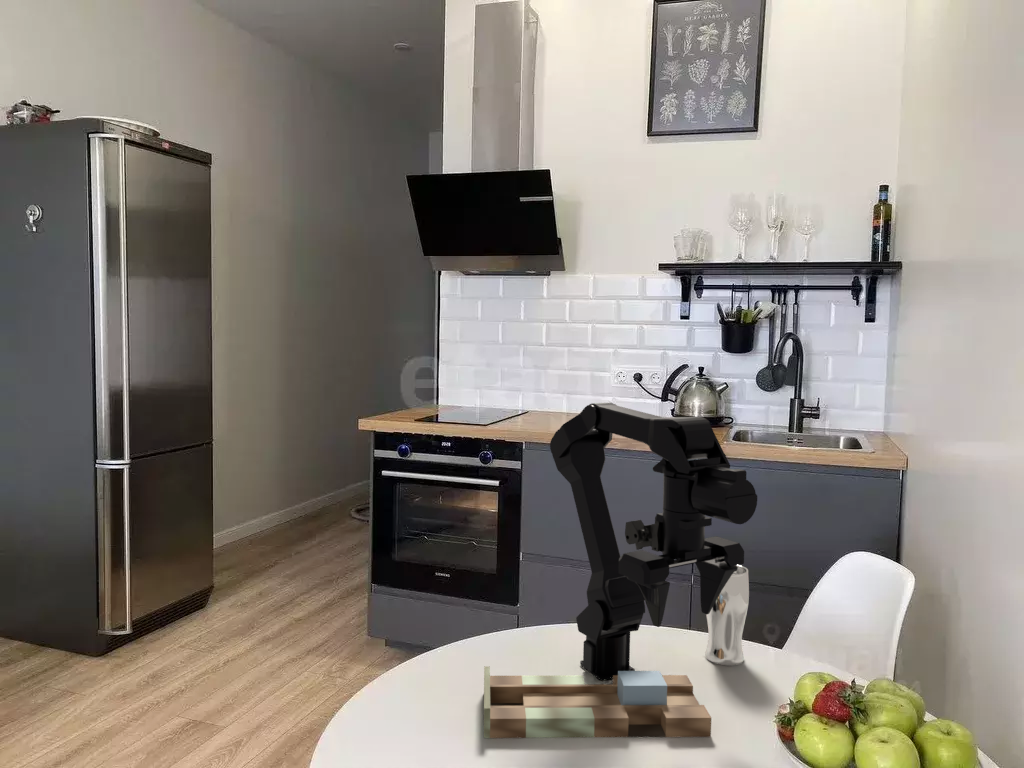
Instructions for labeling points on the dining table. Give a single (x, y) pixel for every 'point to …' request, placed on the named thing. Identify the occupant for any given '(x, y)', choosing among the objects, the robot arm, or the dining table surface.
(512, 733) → the tray
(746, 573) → the beer glass
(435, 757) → the dining table surface
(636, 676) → the block
